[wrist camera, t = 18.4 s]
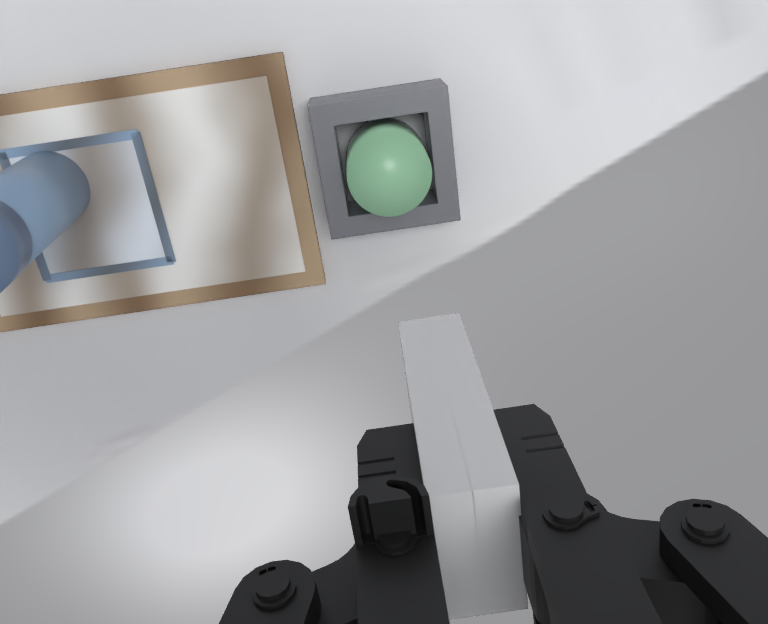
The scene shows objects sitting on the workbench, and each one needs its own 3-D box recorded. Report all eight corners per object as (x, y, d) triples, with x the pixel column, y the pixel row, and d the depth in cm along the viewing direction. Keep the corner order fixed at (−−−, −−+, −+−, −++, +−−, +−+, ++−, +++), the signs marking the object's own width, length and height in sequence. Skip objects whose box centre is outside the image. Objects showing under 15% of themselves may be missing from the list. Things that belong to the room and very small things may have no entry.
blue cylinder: (27, 229, 40) (-73, 313, 30) (0, 156, 38) (-116, 220, 28) (100, 217, 40) (23, 298, 30) (77, 144, 38) (-13, 204, 28)
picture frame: (-5, 329, 43) (-11, 335, 43) (-95, 109, 38) (-103, 111, 37) (325, 280, 43) (325, 285, 42) (282, 51, 38) (281, 53, 37)
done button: (352, 200, 40) (353, 222, 36) (340, 124, 38) (340, 139, 35) (427, 189, 40) (436, 210, 36) (419, 112, 38) (427, 126, 35)
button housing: (332, 222, 42) (331, 239, 39) (310, 98, 39) (307, 106, 36) (452, 204, 41) (460, 220, 39) (440, 78, 38) (447, 85, 36)
